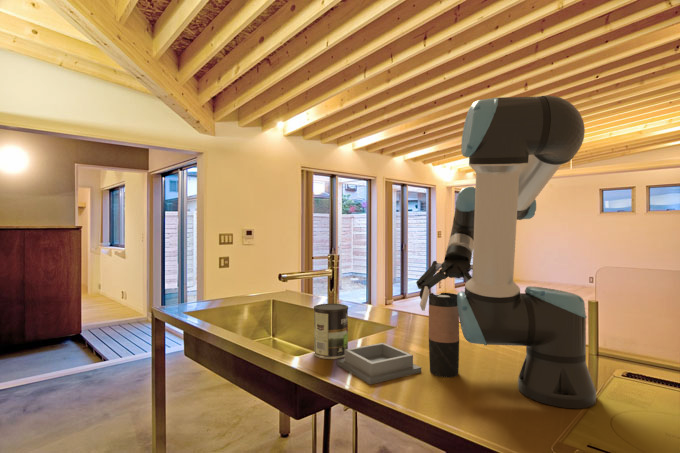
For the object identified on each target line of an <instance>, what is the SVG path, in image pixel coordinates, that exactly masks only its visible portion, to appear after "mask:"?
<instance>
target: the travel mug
mask: <svg viewBox="0 0 680 453" xmlns="http://www.w3.org/2000/svg"><path fill="white" fill-rule="evenodd" d="M457 294H458V293H457ZM457 294H456V293H452V292H441V293H440V294H435V293H433V292H431V293H430V292H429V296H428V353H429V354H428V356H429V358H428V359H429V372H430V374H432V375H434V376H436V377H440V378H455V377H457V376H458V375H459V372H460V371H459V367H460V366H459V365H460V364H459V363H460V319H459V313H458V306H457Z"/></svg>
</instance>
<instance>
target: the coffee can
mask: <svg viewBox="0 0 680 453" xmlns="http://www.w3.org/2000/svg"><path fill="white" fill-rule="evenodd" d="M348 312H349V306H348V305H347V304H344V303H342V304H341V303H320V304H317V305H313V313H314V314H313V323H314V324H313V330H314V331H313V333H314V337H313V338H314V339H313V340H314V341H313V342H314V346H313V347H314V348H313V349H314V350H313V354H314V356H315V357H317V358H319V359H324V360H340V359H344V358H345V349H349V342H348V341H349V340H348V339H349V335H348V334H349V332H348V331H349V329H348V328H349V324H348V323H349V322H348V321H349V316H348V314H349V313H348ZM314 352H315V353H314Z"/></svg>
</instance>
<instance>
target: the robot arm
mask: <svg viewBox="0 0 680 453" xmlns="http://www.w3.org/2000/svg"><path fill="white" fill-rule="evenodd" d="M585 129H586V128H585V123H584V119H583V117H582V115H581V113H580V111H579V110H578V108H576V106H575V105H574V104H572V103H571V102H570V101H569V100H566V99H565V98H562V97H559V96H556V95H541V96H540V95H539V96H509V97H508V96H507V97H506V96H505V97H491V98H484V99H478V100H476V101H474V102H473V103H472V104H471V105H470V107H469V109H468V111H467V114H466V116H465V121H464V124H463V129H462V134H461V135H462V136H461V155H462V156H463V157H465V158H468V166H469V167H470V169H472V170H473V171H474V172H475V187H474V186H466V187H464V188H462V189H461V190H459V192H458V193H457V196H456V200H455V208H454V216H453V220H452V226H451V231H450V236H449V239H448V244H447V248H446V251H445V255H444V260H443V262H442V263H440V262H437V260H433V261H432V263H431V266H430V267H429V268H428V269H427V270H426V271H425V272H424V273H423V274H422V275H421V276H420V278H418V279H417V280H416V282H415V283H416V285H417V286H416V287H417V288H418V289H419V290H420V291H419V297H420V303H419V307H420V310H421V311H424V312H425V311H426V308H427V303H428V301H429V294H430V289H431V288H433V287H434V286H435V285H437V284H439V282H442V281H443V280H446V279H448V278H449V279H454V278H455V279H461V278H463V279H464V280H465V281H466V282H465V283H464V284H465V285H464V291H463V290H461V291H459V292H458V293H457V306H458V313H459V325H460V328H461V332H462V335H463V337H464V339H465V340H466V341H467V342H468V343H470V344H474V345H475V344H476V345H477V344H478V345H484V346H512V347H513V346H516V347H518V346H519V347H521V346H522V347H526V348H525V349H526V354H525V358H524V361H523V364H522V365H521V369H520V372H519V375H518V377H517V388H518V390H519V392H520V393H521V394H522V395H524V396H525V397H527V398H530V399H531V400H533V401H535V402H539V403H542V404H545V405H549V406H552V407H558V408H565V409H585V408H590V407H593V406H595V405H596V403H597V391H596V388H595V385H594V381H593V379H592V376H591V373H590V371H589V369H588V365H587V359H586V358H587V357H586V356H587V354H586V353H587V350H586V349H587V346H586V345H587V334H586V333H587V332H586V330H587V329H586V327H587V326H586V325H587V314H586V306H585V305H586V303H585V300H584V299H583V298H582V297H581V296H580V295H579V294H576V293H572V292H568V291H564V290H558V289H554V288H548V287H541V286H540V287H539V286H526V287H525V290H524V293H523V292H522V293H521V288H520V286H519V285H518V284H516V283H515V281H514V272H515V271H514V270H515V259H516V258H515V256H516V255H515V254H516V241H517V240H516V237H517V223H518V222H517V220H518V221H522V220H530V219H533V217H534V216H535V214H536V211H537V200H536V198H538V196H539V195H540V193H542V191H543V190H544V188H545V187H546V185H547V184H548V183H549V181H550V180H551V179H552V178H553V177H554V175H555V174H556V173H557V171H558V170H559V169H560V167H561V166H562V165H565V164H567V163H569V162H570V161H571V160H572V159H573V158H574V157H575V156H576V155H577V154H578V152H579V151H580V149H581V147H582V146H583V145H582V144H583V142H584V139H585V132H586V130H585ZM471 261H472V262H471ZM471 263H472V264H471ZM471 270H472V275H471V274H470V273H469V272H471Z"/></svg>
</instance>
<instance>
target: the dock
mask: <svg viewBox="0 0 680 453" xmlns="http://www.w3.org/2000/svg"><path fill="white" fill-rule="evenodd" d="M336 365H337V366H339V367H340V368H342V369H344V370H345V371H347V372H349V373H350V374H352V375H354V376H356V377H357V378H358V379H360V380H362V381H363V382H365V383H366V384H368V385H374V384H378V383H383V382H387V381H391V380H396V379H399V378H402V377H403V378H404V377H407V376H412V375H416V374H419V373H422V367H421V366H419V365H416V364H414V355H413V354H411V353H408V352H406V351H404V350H401V349H399V348H397V347H394V346H392V345H390V344H387V343H384V342H380V343H379V342H378V343H374V344H373V343H372V344H369V345H363V346H357V347H352V348H348V349H345V357H344V358H339V359H336Z"/></svg>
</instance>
